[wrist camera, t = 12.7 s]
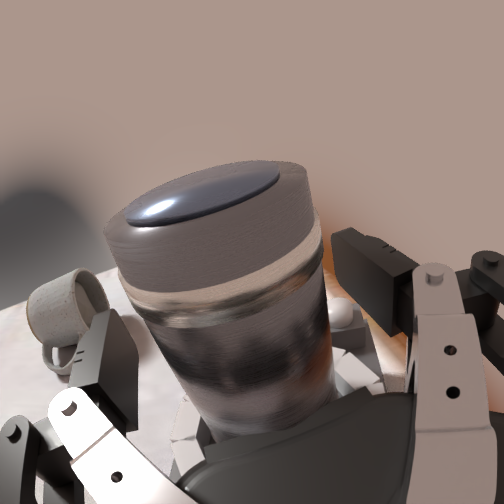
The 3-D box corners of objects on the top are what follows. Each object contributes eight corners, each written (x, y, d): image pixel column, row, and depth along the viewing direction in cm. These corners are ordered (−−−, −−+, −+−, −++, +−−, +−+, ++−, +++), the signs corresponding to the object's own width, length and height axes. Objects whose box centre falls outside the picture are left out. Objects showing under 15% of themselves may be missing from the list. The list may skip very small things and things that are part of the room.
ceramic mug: (64, 324, 34) (35, 274, 31) (116, 309, 35) (88, 255, 31) (41, 384, 25) (-2, 329, 21) (100, 373, 26) (57, 311, 22)
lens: (219, 485, 10) (54, 254, 5) (233, 395, 15) (146, 181, 10) (345, 479, 9) (324, 196, 5) (335, 384, 14) (301, 144, 9)
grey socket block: (195, 569, 9) (118, 549, 6) (227, 387, 22) (193, 313, 18) (393, 564, 7) (430, 554, 4) (366, 371, 20) (366, 287, 16)
